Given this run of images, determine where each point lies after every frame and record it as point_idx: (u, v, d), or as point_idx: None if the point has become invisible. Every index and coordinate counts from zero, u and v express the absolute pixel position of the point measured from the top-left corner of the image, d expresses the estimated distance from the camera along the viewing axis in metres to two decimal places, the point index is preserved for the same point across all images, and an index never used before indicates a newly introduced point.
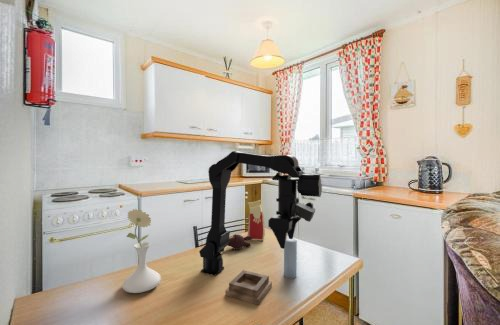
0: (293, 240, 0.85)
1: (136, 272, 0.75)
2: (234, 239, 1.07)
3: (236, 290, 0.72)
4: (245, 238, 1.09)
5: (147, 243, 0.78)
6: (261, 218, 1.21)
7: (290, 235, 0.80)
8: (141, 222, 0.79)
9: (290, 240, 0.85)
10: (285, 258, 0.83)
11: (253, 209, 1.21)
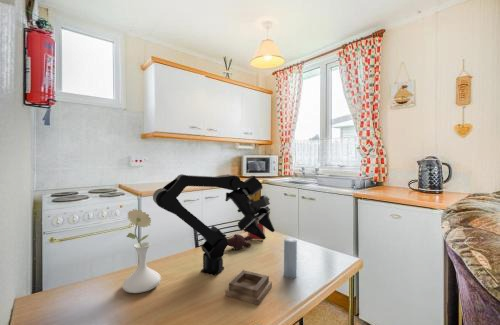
0: (293, 240, 0.85)
1: (136, 272, 0.75)
2: (234, 239, 1.07)
3: (236, 290, 0.72)
4: (245, 238, 1.09)
5: (147, 243, 0.78)
6: None
7: (271, 229, 0.92)
8: (141, 222, 0.79)
9: (290, 240, 0.85)
10: (285, 258, 0.83)
11: None
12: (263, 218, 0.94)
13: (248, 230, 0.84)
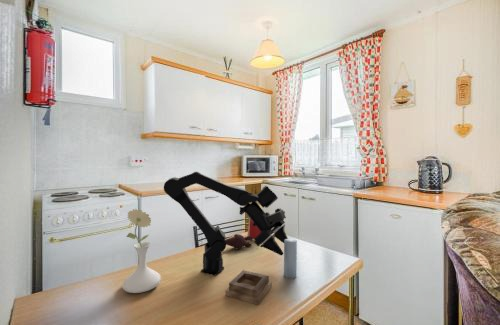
0: (293, 240, 0.85)
1: (136, 272, 0.75)
2: (235, 239, 1.07)
3: (236, 290, 0.72)
4: (246, 238, 1.09)
5: (147, 243, 0.78)
6: None
7: None
8: (141, 222, 0.79)
9: (290, 240, 0.85)
10: (285, 258, 0.83)
11: None
12: (278, 231, 0.92)
13: (265, 246, 0.82)
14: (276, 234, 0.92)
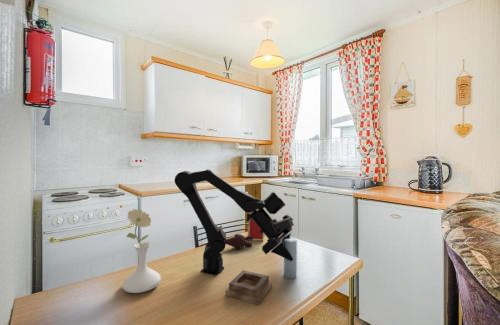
0: (293, 240, 0.85)
1: (136, 272, 0.75)
2: (235, 239, 1.07)
3: (236, 290, 0.72)
4: (246, 238, 1.10)
5: (147, 243, 0.78)
6: None
7: None
8: (141, 222, 0.79)
9: (290, 240, 0.85)
10: (285, 258, 0.83)
11: None
12: None
13: (275, 251, 0.82)
14: None
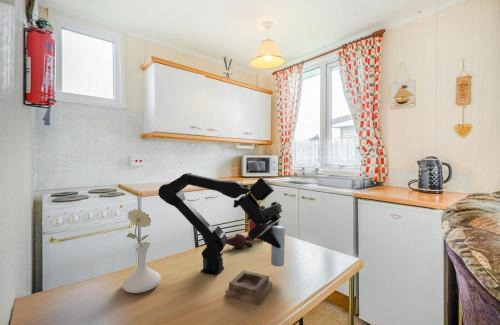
0: (281, 227, 0.82)
1: (136, 272, 0.75)
2: (236, 238, 1.08)
3: (236, 290, 0.72)
4: (247, 238, 1.10)
5: (147, 243, 0.78)
6: None
7: None
8: (141, 222, 0.79)
9: (278, 227, 0.82)
10: None
11: None
12: None
13: (262, 238, 0.79)
14: None
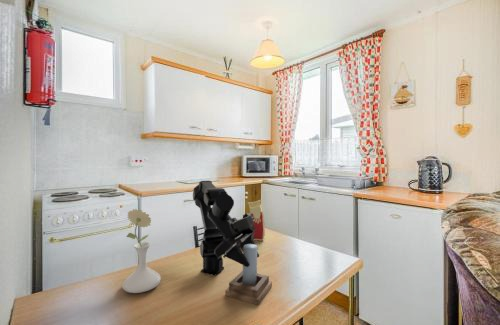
0: (254, 246, 0.75)
1: (136, 272, 0.75)
2: None
3: (236, 290, 0.72)
4: None
5: (147, 243, 0.78)
6: (261, 218, 1.21)
7: None
8: (141, 222, 0.79)
9: (250, 246, 0.75)
10: (243, 266, 0.74)
11: (253, 209, 1.21)
12: (246, 240, 0.80)
13: (229, 256, 0.71)
14: (244, 243, 0.80)
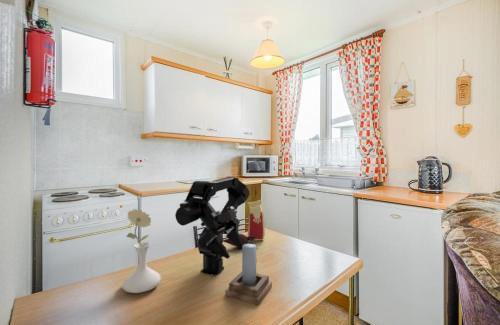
0: (252, 245, 0.75)
1: (136, 272, 0.75)
2: None
3: (236, 290, 0.72)
4: (248, 237, 1.10)
5: (147, 243, 0.78)
6: (261, 218, 1.21)
7: (239, 245, 0.82)
8: (141, 222, 0.79)
9: (249, 245, 0.75)
10: (243, 266, 0.74)
11: (253, 209, 1.21)
12: (231, 232, 0.84)
13: (210, 248, 0.74)
14: (229, 235, 0.84)
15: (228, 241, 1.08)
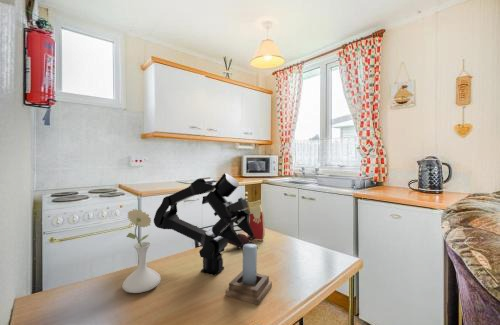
0: (253, 245, 0.75)
1: (136, 272, 0.75)
2: None
3: (236, 290, 0.72)
4: (248, 237, 1.10)
5: (147, 243, 0.78)
6: (261, 218, 1.21)
7: (250, 233, 0.86)
8: (141, 222, 0.79)
9: (250, 245, 0.75)
10: (243, 266, 0.74)
11: (253, 209, 1.21)
12: (242, 222, 0.88)
13: (223, 235, 0.78)
14: (240, 224, 0.88)
15: (228, 241, 1.08)
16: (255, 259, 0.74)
